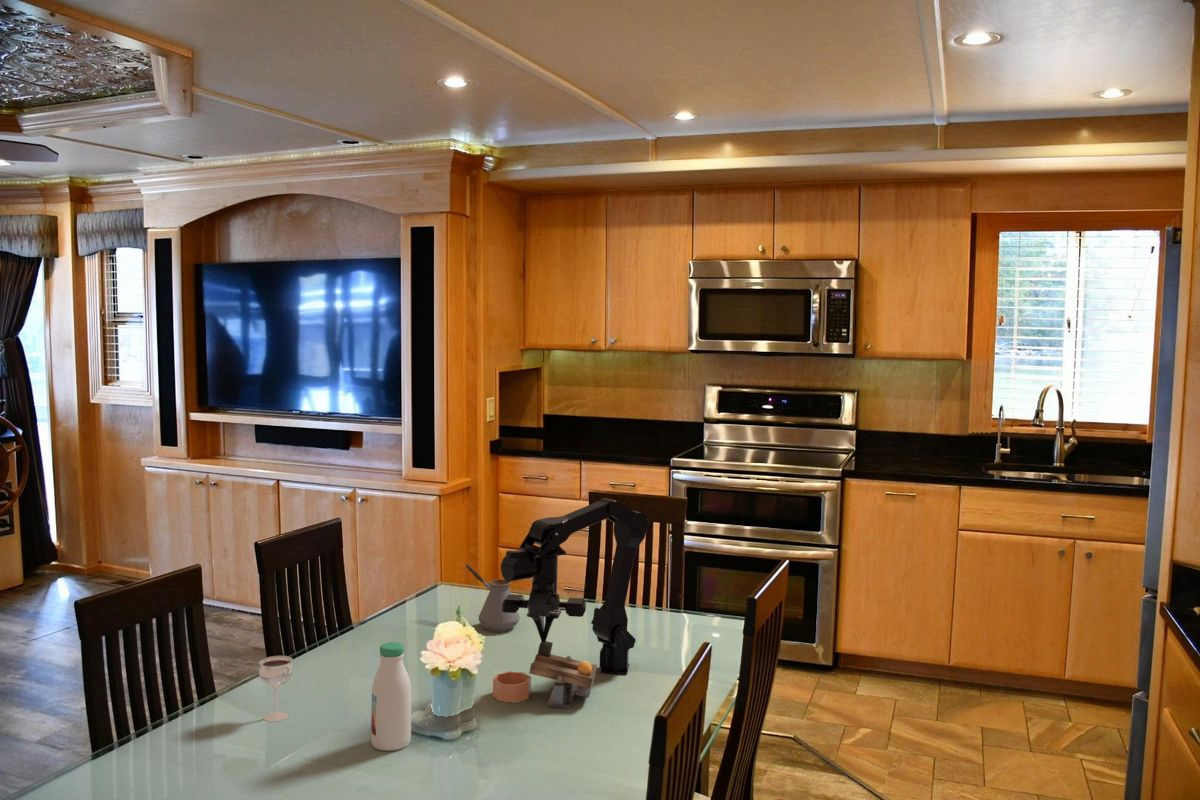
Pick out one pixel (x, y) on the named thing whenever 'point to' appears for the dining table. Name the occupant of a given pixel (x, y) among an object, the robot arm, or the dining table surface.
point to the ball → (584, 668)
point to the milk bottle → (391, 701)
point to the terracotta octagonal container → (512, 686)
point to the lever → (562, 669)
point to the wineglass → (275, 679)
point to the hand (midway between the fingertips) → (543, 641)
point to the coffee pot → (496, 605)
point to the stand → (562, 695)
